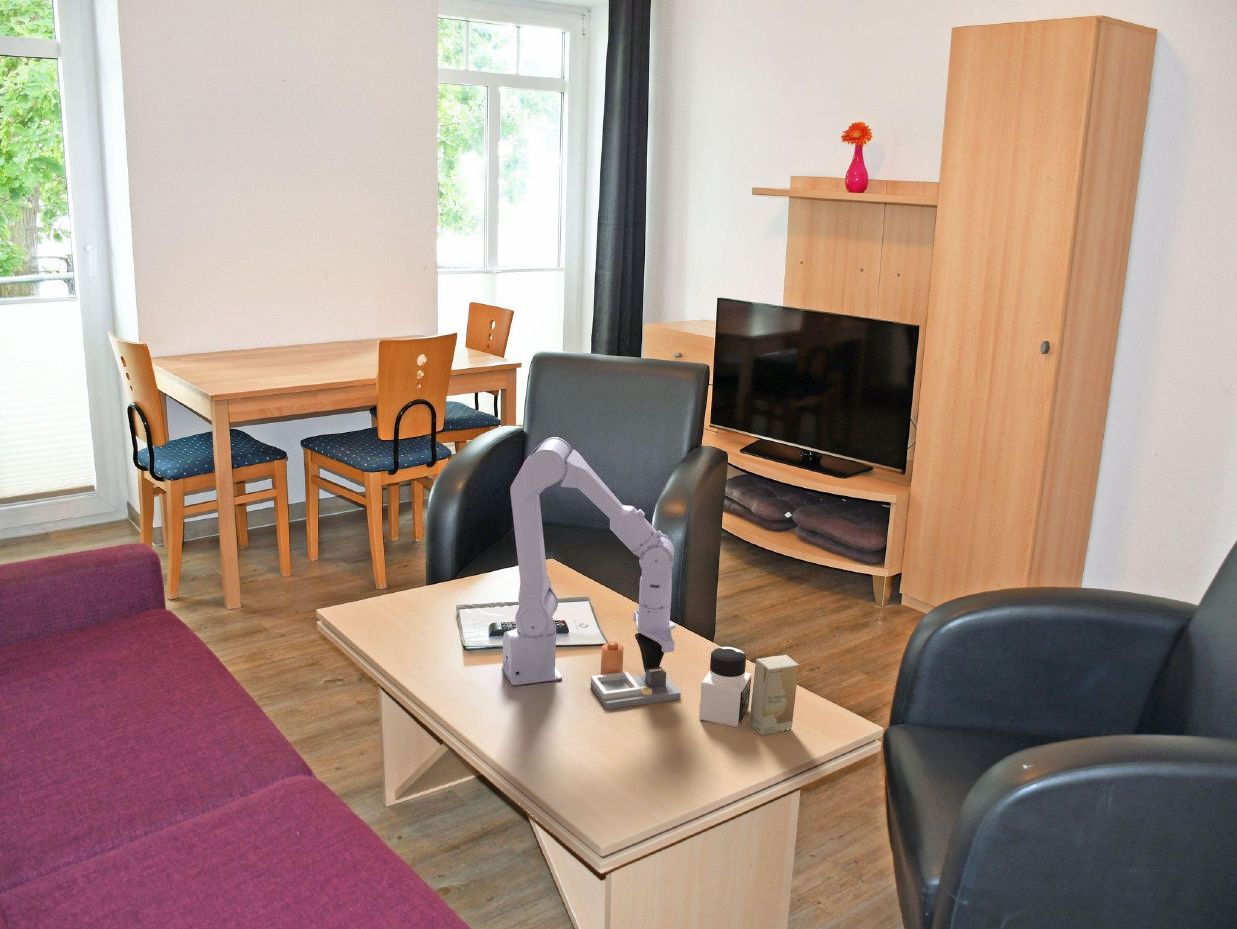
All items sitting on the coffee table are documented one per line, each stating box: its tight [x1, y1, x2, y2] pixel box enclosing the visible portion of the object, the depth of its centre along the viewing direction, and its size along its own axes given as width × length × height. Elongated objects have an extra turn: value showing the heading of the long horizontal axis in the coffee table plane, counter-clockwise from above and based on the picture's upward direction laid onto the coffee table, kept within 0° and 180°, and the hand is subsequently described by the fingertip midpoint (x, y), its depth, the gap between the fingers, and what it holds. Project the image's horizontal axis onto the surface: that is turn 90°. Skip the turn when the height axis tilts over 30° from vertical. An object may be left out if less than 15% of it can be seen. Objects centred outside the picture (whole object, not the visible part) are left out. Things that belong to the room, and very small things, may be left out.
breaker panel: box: [590, 671, 681, 710], centre depth 195 cm, size 14×8×2 cm, turn 111°
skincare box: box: [749, 654, 800, 735], centre depth 184 cm, size 6×4×12 cm
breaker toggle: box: [644, 666, 667, 687], centre depth 196 cm, size 3×2×3 cm
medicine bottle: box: [698, 646, 752, 728], centre depth 187 cm, size 7×7×12 cm
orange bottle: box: [600, 641, 624, 675], centre depth 200 cm, size 4×4×7 cm
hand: (651, 672), depth 198 cm, fingers closed
